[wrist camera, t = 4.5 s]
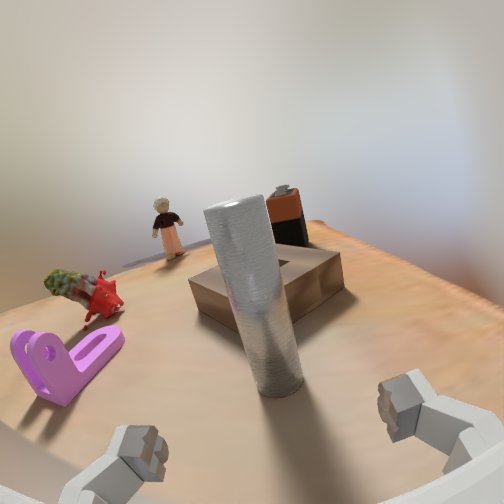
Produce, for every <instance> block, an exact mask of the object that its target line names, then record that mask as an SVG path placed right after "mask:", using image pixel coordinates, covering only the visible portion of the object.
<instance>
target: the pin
mask: <svg viewBox="0 0 504 504" xmlns="http://www.w3.org/2000/svg"><path fill="white" fill-rule="evenodd" d="M203 212H204V215H205V219H206V222H207V226H208V230H209V233H210V236H211V240H212V244H213V247H214V251H215V254H216V258H217V261H218V264H219V268H220V271H221V275H222V278H223V281H224V285H225V288H226V291H227V294H228V298H229V301H230V304H231V308H232V311H233V314H234V317H235V320H236V324H237V327H238V330H239V333H240V336H241V339H242V343H243V346H244V349H245V352H246V355H247V358H248V361H249V364H250V367H251V370H252V373H253V376H254V379H255V382H256V385H257V388H258V390H259V392H260V393H261V394H262V395H264V396H266V397H270V398H281V397H285V396H288V395H290V394H292V393H294V392H295V391H297V390H298V389H299V388H300V386H301V385H302V383H303V373H302V368H301V363H300V359H299V354H298V349H297V344H296V339H295V335H294V330H293V325H292V320H291V316H290V311H289V307H288V302H287V297H286V293H285V288H284V284H283V279H282V275H281V270H280V266H279V261H278V257H277V253H276V248H275V244H274V240H273V235H272V231H271V227H270V223H269V218H268V214H267V210H266V206H265V201H264V197H263V195H251V196H245V197H240V198H236V199H232V200H228V201H225V202H221V203H218V204H216V205H213V206H210V207H208V208H206V209H204V211H203Z"/></svg>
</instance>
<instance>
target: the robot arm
mask: <svg viewBox="0 0 504 504" xmlns="http://www.w3.org/2000/svg"><path fill="white" fill-rule="evenodd" d="M378 392H379V394H380V396H379V397H378V403H377V405H378V411H379V414H380V417H381V419H382V421H383V422H385V423H387V432H388V434H389V436H390V438H391V440H392V442H393V443H394V442H397V441H400V440H403V439H405V438H408V437H410V436H413V435H414V436H415V437H417V438H419V439H420V440H422V441H424V442H425V443H427V444H429V445H431V446H432V447H434V448H436V449H438V450H439V451H441V452H443V453H445V454H447V455H448V456H449V458H448V460H447V462H446V464H445V466H444V468H443V470H442V471H443V473H444V476H442V477H440V478H438V479H436V480H434V481H431V482H429V483H427V484H425V485H423V486H421V487H418V488H416V489H414V490H411V491H409V492H407V493H404V494H402V495H399V496H397V497H394V498H391V499H389V500H386V501H383V502H380V503H377V504H504V426H503V424H502V423H501V422H500V420H499V419H498V418H497V417H496V415H495V414H494V413H493V412H491V411H488V410H485V409H482V408H479V407H476V406H473V405H470V404H467V403H464V402H461V401H458V400H456V399H453V398H450V397H447V396H444V395H440V396H438V395H437V393H436V392H435V390H434V389H433V388H432V386H431V385H430V384H429V382H428V381H427V380H426V378H425V377H424V375H423V374H422V373H421V371H420V370H419V369H414V370H412V371H409V372H407V373H405V374H401V375H399V376H396V377H394V378H391V379H388V380H386V381H383V382H380V383H379V385H378ZM168 456H169V451H168V445H167V443H166V441H165V440H164V438H162V437H160V436H159V435H158V430H157V428H156V427H155V426H135V425H129V426H128V425H119V426H118V427H116V429H115V432H114V434H113V437H112V439H111V442H110V444H109V447H108V450H107V452H106V455H102V456H101V457H100V458H98V459H97V460H96V461H95V462H93V463H92V464H91V465H90V466H88V467H87V468H86V469H85V470H83V471H82V472H81V473H79V474H78V475H77V476H76V477H74V478H73V479H72V480H70V481H69V482H68V483H66V484H65V486H64V489H63V492H62V494H61V496H60V499H59V501H58V504H126V503H127V502H128V501H129V500H130V499H131V497H132V496H133V495H134V494H135V493H136V492H137V490H138V489H139V488H140V487H141V486H142V485H143V483H144V482H163V481H164V476H165V471H166V468H165V466H164V465H163V464H164V463H165V462H166V461H167V460H168ZM0 504H46V503H43V502H40V501H38V500H35V499H32V498H30V497H27V496H25V495H23V494H20V493H18V492H15V491H13V490H11V489H9V488H7V487H5V486H2V485H0Z"/></svg>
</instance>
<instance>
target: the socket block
mask: <svg viewBox="0 0 504 504" xmlns="http://www.w3.org/2000/svg"><path fill="white" fill-rule="evenodd" d="M275 248H276V253H277V257H278V261H279V266H280V270H281V275H282V279H283V284H284V288H285V293H286V297H287V302H288V307H289V311H290V316H291V320H292V324H293V323H294V322H295V321H297V320H298V319H300V318H301V317H303V316H304V315H306V314H307V313H309V312H310V311H311V310H313V309H314V308H316V307H317V306H318V305H320V304H321V303H323V302H324V301H325V300H327V299H328V298H330V297H331V296H332V295H334V294H335V293H336V292H338V291H339V290H341V289H342V288H343V287H344V279H343V272H342V265H341V258H340V252H334V251H326V250H319V249H312V248H304V247H297V246H289V245H282V244H275ZM188 281H189V284H190V287H191V290H192V293H193V295H194V298H195V301H196V304H197V307H198V310H200V311H202V312H203V313H205V314H207V315H208V316H210V317H212V318H213V319H215V320H217V321H218V322H220V323H222V324H223V325H225V326H227V327H229V328H230V329H232V330H234V331H235V332H237V333H239V330H238V327H237V324H236V320H235V317H234V314H233V311H232V308H231V304H230V301H229V298H228V294H227V291H226V288H225V285H224V281H223V278H222V275H221V271H220V268H219V265H218V266H216V267H213V268H211V269H209V270H207V271H205V272H202V273H200V274H198V275H196V276H194V277H192V278H189V279H188ZM239 334H240V333H239Z"/></svg>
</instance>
